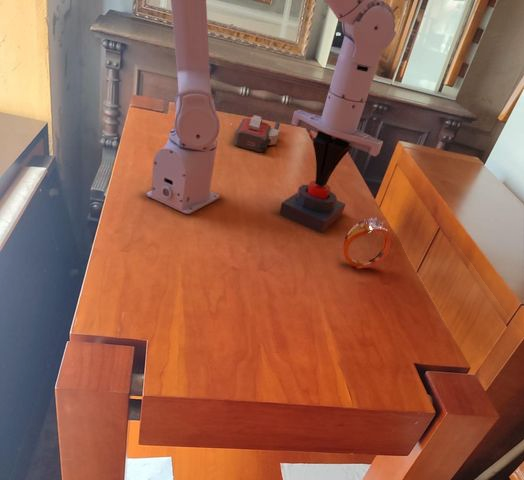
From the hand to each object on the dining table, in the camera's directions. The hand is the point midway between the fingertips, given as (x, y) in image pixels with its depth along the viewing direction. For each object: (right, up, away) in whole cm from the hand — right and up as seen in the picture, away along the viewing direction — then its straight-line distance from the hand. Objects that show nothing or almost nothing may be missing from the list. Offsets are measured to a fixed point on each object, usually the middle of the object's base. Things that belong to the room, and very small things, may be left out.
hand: (320, 183), depth 81 cm
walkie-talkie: (-11, +19, +28) cm, 36 cm away
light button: (0, -2, +1) cm, 2 cm away
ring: (+5, -15, -7) cm, 17 cm away
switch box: (-1, -4, +4) cm, 6 cm away
